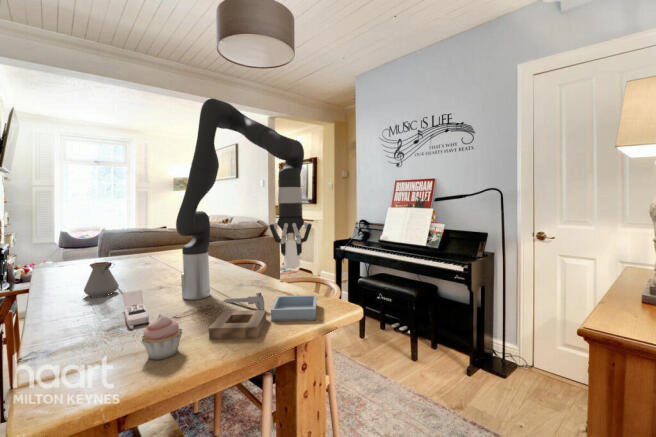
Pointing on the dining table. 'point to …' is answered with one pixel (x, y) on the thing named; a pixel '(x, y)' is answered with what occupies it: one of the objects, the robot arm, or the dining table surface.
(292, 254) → the pepper shaker
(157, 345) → the cupcake
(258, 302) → the caliper
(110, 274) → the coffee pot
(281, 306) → the tray
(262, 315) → the socket block
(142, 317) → the mobile phone
